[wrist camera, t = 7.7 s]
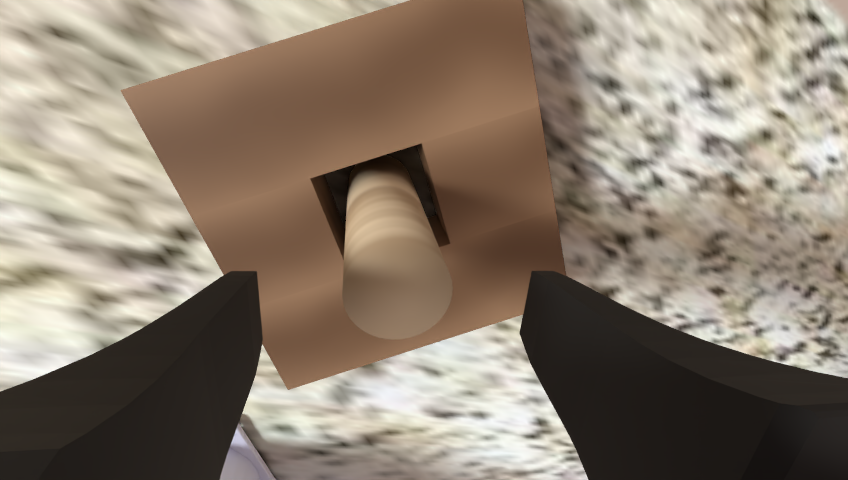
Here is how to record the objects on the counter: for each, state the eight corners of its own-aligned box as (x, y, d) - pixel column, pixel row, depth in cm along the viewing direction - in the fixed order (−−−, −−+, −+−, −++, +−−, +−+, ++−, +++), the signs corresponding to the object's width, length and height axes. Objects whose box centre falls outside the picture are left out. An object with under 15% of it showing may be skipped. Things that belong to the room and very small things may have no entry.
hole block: (541, 265, 24) (569, 299, 21) (297, 343, 24) (288, 389, 21) (489, -20, 18) (517, -33, 15) (162, 82, 18) (120, 90, 15)
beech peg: (418, 204, 22) (463, 320, 13) (360, 222, 22) (363, 352, 13) (400, 146, 20) (436, 228, 11) (338, 165, 20) (325, 264, 11)
